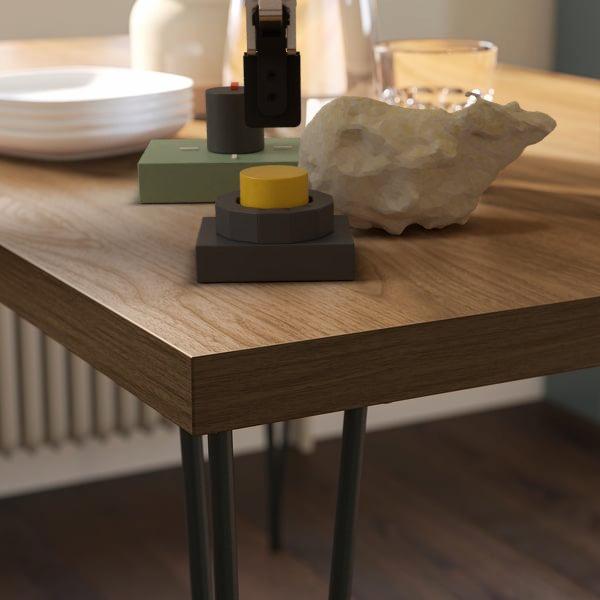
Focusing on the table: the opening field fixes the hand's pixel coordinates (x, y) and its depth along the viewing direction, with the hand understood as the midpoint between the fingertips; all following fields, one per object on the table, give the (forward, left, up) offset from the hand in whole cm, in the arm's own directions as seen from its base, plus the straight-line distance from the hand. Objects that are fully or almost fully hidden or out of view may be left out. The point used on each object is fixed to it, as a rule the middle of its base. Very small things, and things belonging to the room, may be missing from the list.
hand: (273, 122), depth 68 cm
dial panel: (-3, +22, -9) cm, 24 cm away
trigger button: (0, 0, -5) cm, 5 cm away
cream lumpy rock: (+10, +10, -9) cm, 17 cm away
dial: (-3, +22, -5) cm, 23 cm away
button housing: (0, 0, -9) cm, 9 cm away
